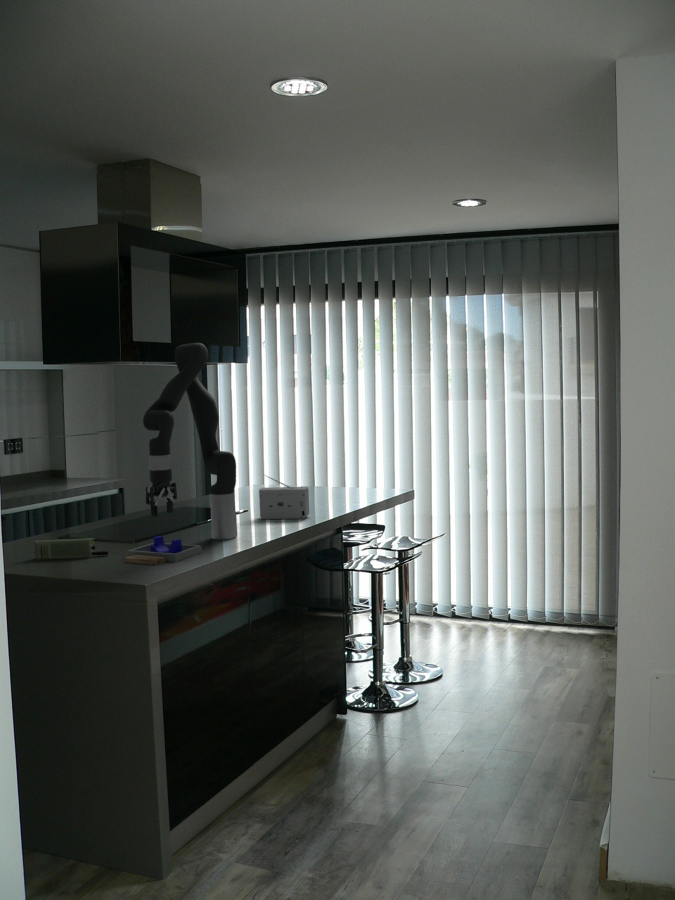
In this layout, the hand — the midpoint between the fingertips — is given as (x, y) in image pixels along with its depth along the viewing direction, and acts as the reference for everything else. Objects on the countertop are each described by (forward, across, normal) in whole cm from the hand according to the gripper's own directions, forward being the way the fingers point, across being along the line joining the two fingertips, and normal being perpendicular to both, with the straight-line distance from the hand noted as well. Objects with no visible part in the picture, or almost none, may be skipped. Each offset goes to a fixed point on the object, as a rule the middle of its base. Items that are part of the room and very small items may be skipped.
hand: (162, 514), depth 296 cm
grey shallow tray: (+14, 0, 0) cm, 14 cm away
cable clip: (+15, -1, 0) cm, 15 cm away
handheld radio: (+15, +13, -30) cm, 36 cm away
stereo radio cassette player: (+14, -79, +3) cm, 81 cm away
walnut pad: (+14, +10, 0) cm, 18 cm away
